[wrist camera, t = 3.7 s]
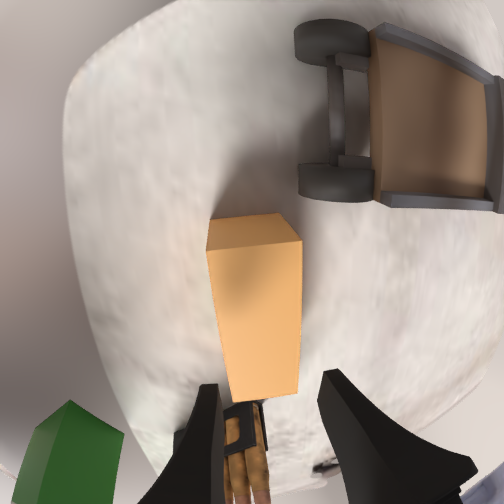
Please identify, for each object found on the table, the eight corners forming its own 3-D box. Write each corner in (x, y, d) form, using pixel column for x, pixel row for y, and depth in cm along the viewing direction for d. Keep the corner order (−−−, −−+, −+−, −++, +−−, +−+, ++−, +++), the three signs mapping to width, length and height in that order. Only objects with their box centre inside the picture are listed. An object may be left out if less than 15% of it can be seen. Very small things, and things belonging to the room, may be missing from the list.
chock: (278, 212, 16) (302, 240, 11) (282, 343, 20) (297, 393, 15) (210, 218, 16) (206, 251, 11) (229, 350, 19) (233, 402, 15)
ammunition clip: (186, 439, 24) (185, 533, 13) (173, 433, 23) (168, 530, 12) (262, 404, 22) (285, 520, 11) (250, 396, 22) (269, 520, 11)
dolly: (477, 95, 13) (525, 97, 8) (475, 196, 17) (522, 215, 12) (286, 41, 12) (316, -1, 7) (290, 188, 15) (324, 211, 10)
